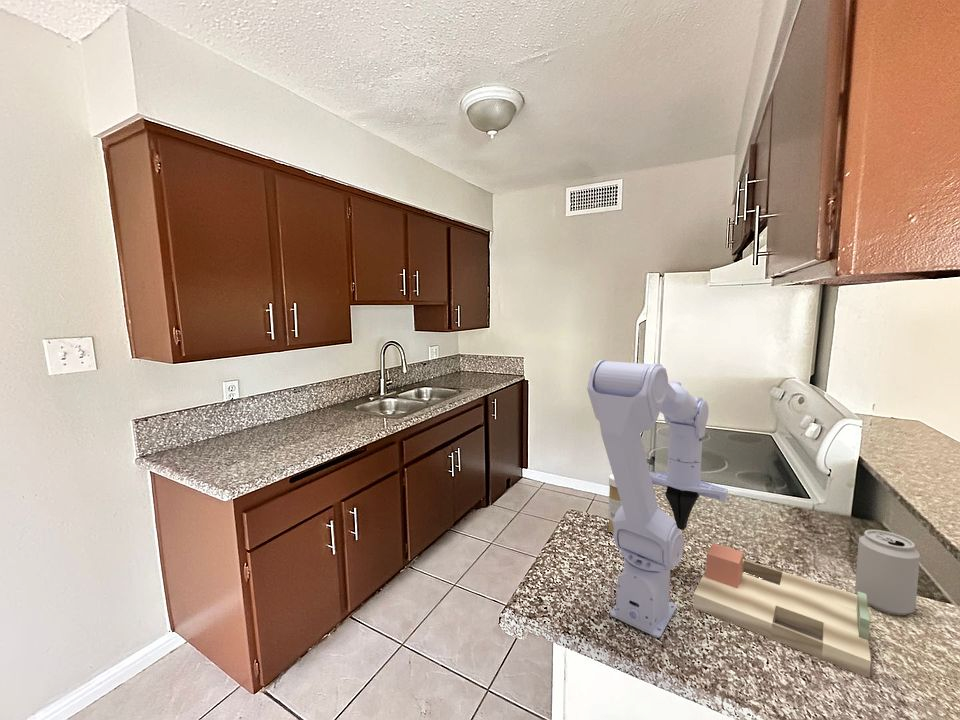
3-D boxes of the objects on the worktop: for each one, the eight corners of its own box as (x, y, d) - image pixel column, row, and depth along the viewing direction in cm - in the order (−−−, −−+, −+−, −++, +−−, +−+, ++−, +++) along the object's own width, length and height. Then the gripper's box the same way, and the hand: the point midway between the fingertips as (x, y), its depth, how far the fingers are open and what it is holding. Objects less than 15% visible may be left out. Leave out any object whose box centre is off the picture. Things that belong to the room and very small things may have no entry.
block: (737, 588, 72) (739, 563, 71) (705, 577, 75) (706, 553, 74) (742, 575, 75) (743, 552, 75) (711, 565, 79) (712, 542, 78)
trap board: (869, 678, 56) (872, 640, 56) (692, 607, 70) (694, 576, 70) (861, 610, 70) (864, 579, 69) (715, 562, 84) (716, 536, 84)
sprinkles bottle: (632, 534, 96) (634, 477, 94) (619, 539, 93) (621, 481, 92) (615, 526, 99) (617, 471, 98) (603, 531, 97) (604, 475, 96)
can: (901, 623, 67) (907, 552, 66) (845, 596, 74) (850, 531, 73) (923, 611, 70) (929, 543, 69) (868, 585, 77) (873, 523, 76)
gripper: (732, 461, 77) (728, 531, 78) (651, 446, 86) (649, 509, 87) (724, 471, 71) (720, 546, 72) (640, 454, 81) (637, 521, 82)
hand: (681, 527), depth 79 cm, fingers closed
